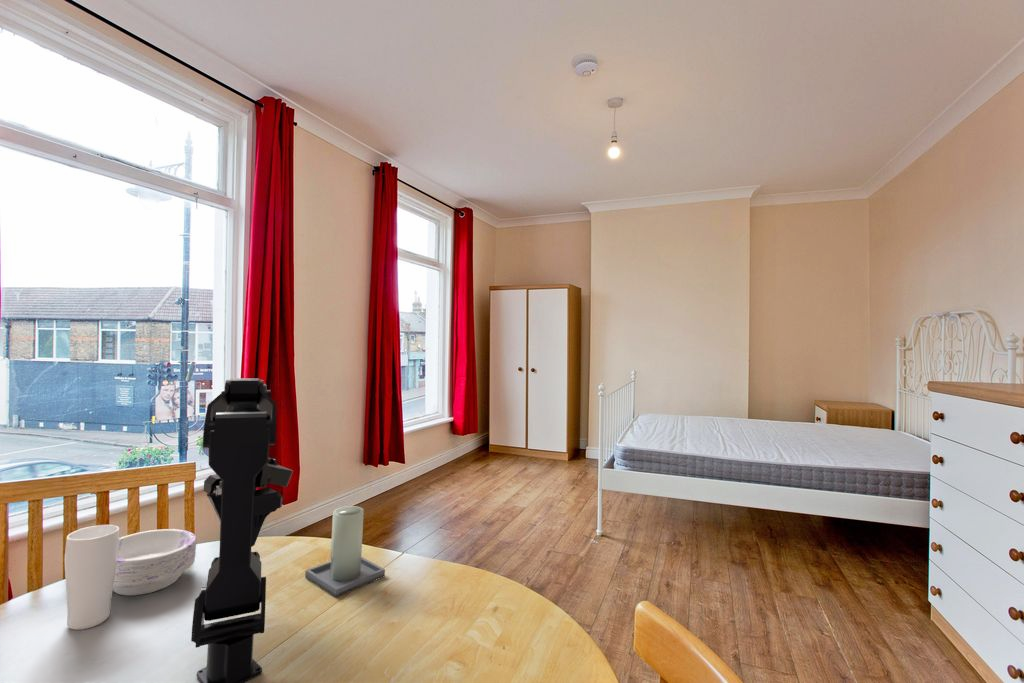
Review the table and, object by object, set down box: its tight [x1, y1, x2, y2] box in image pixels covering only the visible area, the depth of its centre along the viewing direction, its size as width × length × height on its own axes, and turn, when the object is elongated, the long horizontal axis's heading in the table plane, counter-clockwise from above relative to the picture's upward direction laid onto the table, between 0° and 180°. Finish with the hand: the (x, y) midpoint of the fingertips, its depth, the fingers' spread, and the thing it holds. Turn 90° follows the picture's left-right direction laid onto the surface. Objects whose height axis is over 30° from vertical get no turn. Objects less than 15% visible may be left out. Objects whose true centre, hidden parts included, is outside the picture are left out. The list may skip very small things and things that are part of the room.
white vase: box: [64, 524, 120, 631], centre depth 78 cm, size 7×7×15 cm
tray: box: [304, 556, 386, 598], centre depth 97 cm, size 11×11×2 cm
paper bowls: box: [112, 528, 197, 596], centre depth 91 cm, size 15×15×8 cm
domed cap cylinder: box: [329, 505, 364, 582], centre depth 97 cm, size 6×6×13 cm
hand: (239, 538), depth 85 cm, fingers open, 9 cm apart
